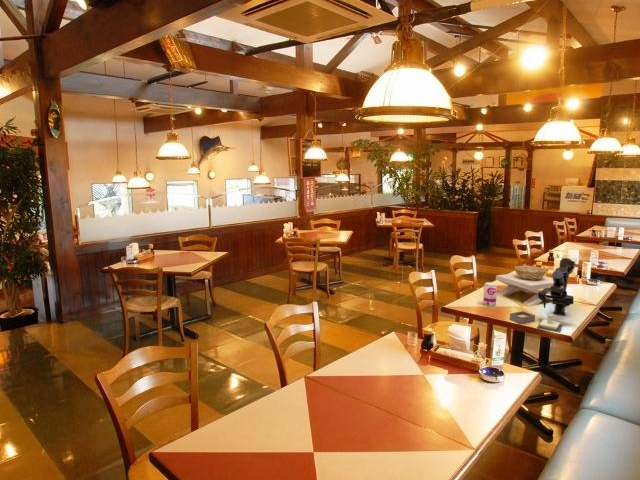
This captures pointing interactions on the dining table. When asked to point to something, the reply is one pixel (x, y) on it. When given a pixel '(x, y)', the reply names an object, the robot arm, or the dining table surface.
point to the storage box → (522, 317)
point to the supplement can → (490, 294)
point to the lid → (550, 323)
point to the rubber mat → (550, 329)
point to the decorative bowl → (526, 282)
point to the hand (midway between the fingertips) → (552, 309)
